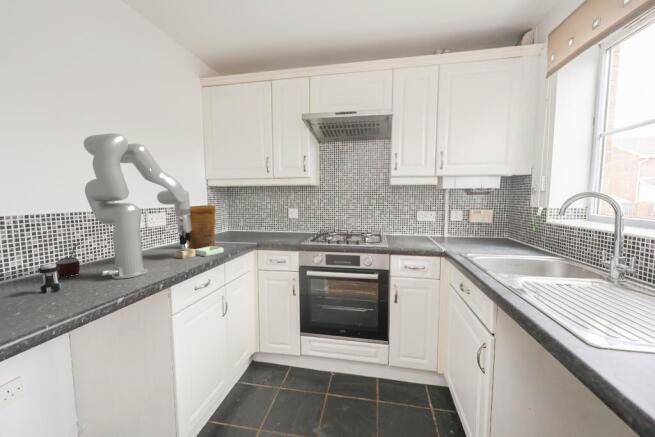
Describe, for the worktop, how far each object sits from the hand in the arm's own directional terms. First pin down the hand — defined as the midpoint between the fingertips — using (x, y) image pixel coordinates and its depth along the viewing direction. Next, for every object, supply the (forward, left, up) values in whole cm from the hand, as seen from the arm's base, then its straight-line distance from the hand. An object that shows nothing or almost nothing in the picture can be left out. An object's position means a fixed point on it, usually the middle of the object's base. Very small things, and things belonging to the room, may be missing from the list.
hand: (185, 242), depth 143 cm
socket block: (-1, 0, -8) cm, 8 cm away
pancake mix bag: (+19, +14, -8) cm, 25 cm away
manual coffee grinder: (-45, +13, -8) cm, 47 cm away
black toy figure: (-56, -5, -8) cm, 56 cm away
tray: (+10, -5, -8) cm, 14 cm away
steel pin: (-1, 0, -8) cm, 8 cm away
